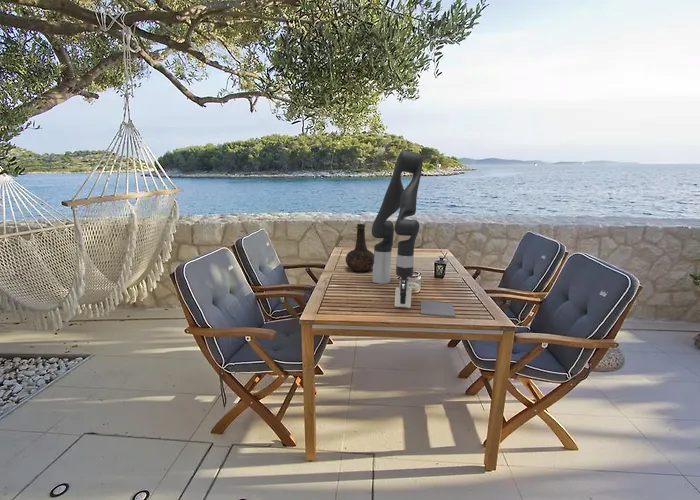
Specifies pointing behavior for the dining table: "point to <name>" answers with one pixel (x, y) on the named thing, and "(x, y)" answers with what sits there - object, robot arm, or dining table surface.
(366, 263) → the glass bottle
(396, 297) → the white block copper side
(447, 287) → the dining table surface
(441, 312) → the mat
